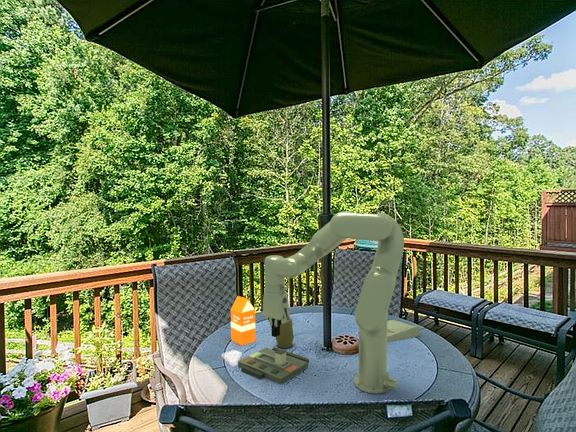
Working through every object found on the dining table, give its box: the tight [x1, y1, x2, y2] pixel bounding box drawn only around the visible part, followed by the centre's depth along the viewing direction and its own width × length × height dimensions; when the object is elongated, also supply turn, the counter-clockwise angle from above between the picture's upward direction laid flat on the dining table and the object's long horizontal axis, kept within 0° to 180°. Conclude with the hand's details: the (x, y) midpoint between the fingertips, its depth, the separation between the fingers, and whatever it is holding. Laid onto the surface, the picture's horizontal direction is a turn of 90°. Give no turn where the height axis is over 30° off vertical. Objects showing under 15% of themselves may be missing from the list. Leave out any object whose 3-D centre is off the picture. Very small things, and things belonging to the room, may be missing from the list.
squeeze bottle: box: [275, 313, 295, 349], centre depth 158 cm, size 8×8×18 cm
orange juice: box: [230, 295, 256, 346], centre depth 164 cm, size 8×9×20 cm
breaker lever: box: [275, 348, 286, 366], centre depth 136 cm, size 3×3×5 cm
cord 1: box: [240, 366, 265, 380], centre depth 133 cm, size 10×2×2 cm, turn 51°
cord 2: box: [271, 346, 310, 364], centre depth 147 cm, size 18×2×2 cm, turn 51°
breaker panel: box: [237, 347, 309, 385], centre depth 139 cm, size 22×16×3 cm
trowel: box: [387, 319, 420, 343], centre depth 168 cm, size 28×16×5 cm, turn 92°
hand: (275, 335), depth 137 cm, fingers closed
